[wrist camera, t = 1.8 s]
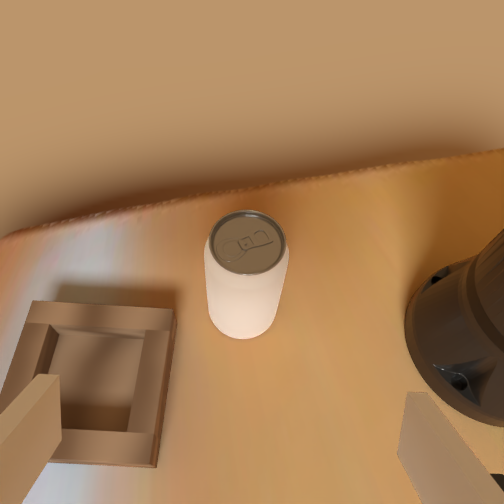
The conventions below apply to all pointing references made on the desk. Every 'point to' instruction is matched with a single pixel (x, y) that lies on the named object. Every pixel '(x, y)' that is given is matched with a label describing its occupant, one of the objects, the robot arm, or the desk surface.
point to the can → (245, 272)
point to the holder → (99, 377)
